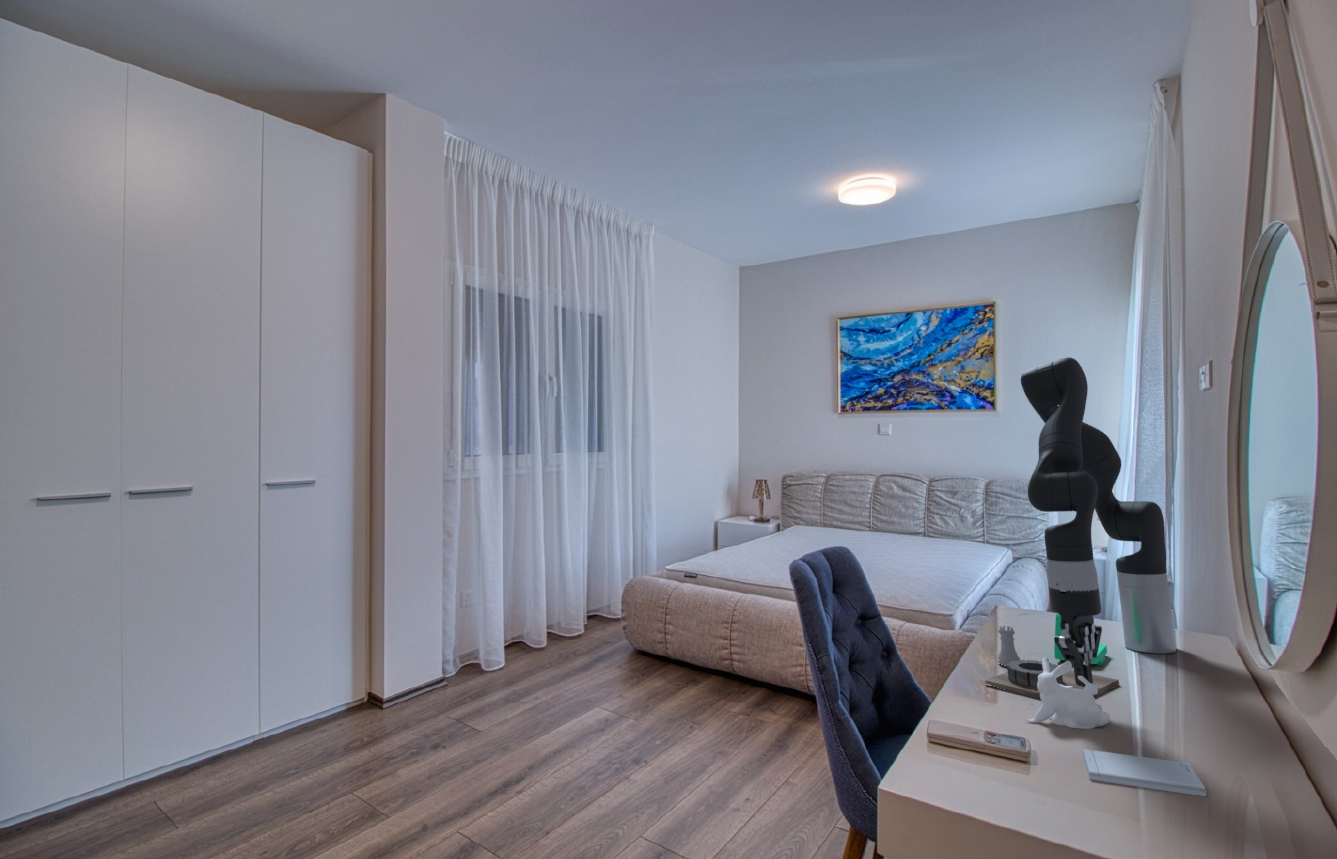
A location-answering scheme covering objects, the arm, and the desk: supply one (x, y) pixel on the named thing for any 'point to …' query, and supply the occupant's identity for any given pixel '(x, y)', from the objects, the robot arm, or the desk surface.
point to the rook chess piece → (1007, 646)
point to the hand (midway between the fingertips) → (1084, 685)
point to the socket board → (1066, 679)
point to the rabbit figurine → (1067, 700)
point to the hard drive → (1143, 772)
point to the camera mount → (1098, 660)
